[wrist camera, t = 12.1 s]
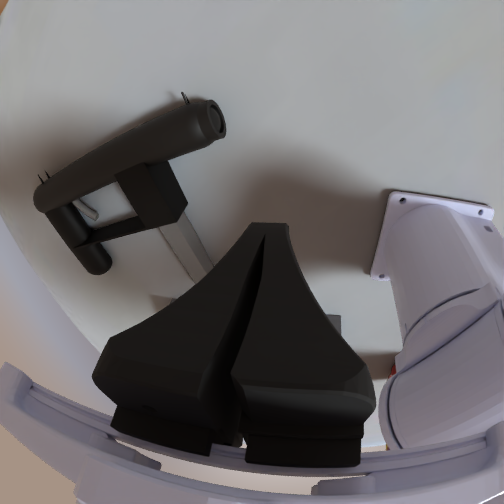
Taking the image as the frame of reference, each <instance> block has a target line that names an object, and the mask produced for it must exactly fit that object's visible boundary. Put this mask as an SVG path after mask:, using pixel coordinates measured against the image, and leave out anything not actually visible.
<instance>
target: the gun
mask: <svg viewBox="0 0 504 504" xmlns="http://www.w3.org/2000/svg"><path fill="white" fill-rule="evenodd" d="M181 94H182V96H183V98H184V100H185V103H186V105H185V106H182V107H180V108H177V109H175V110H173V111H170V112H168V113H166V114H164V115H161V116H159V117H157V118H155V119H153V120H151V121H148V122H146V123H144V124H142V125H140V126H137V127H136V128H134V129H132V130H130V131H128V132H126V133H124V134H122V135H120V136H119V137H117V138H115V139H113V140H111V141H109V142H107V143H106V144H104V145H102V146H100V147H99V148H97V149H95V150H93V151H92V152H90V153H88V154H87V155H85V156H83V157H82V158H80V159H78V160H77V161H75V162H73V163H72V164H70V165H69V166H67V167H66V168H64V169H63V170H61V171H59V172H58V173H56V174H55V175H53V176H52V177H51V178H50V176H49V175H48V174H47V172H46V171H45V172H46V175H47V177H48V180H46V181H45V182H43V180H42V179H41V178H40V176H39V175H38V176H39V178H40V180H41V182H42V184H41V185H39V186H38V187H37V189H36V190H35V192H34V196H33V201H34V205H35V207H36V208H37V210H38V211H40V212H42V213H45V215H46V216H47V218H48V219H49V221H50V222H51V224H52V225H53V226H54V228H55V229H56V231H57V232H58V233H59V235H60V236H61V238H62V239H63V240H64V242H65V243H66V244H67V246H68V247H69V248H70V250H71V251H72V252H73V253H74V255H75V256H76V257H77V259H78V260H79V261H80V262H81V264H82V265H83V266H84V267H85V269H86V270H87V271H88V272H89V273H91V274H93V275H101V274H104V273H106V272H107V271H108V270H109V269H110V268H111V265H112V259H111V257H110V256H109V254H108V253H107V252H106V250H105V249H104V248H103V246H102V245H101V244H100V242H104V241H108V240H111V239H115V238H118V237H122V236H126V235H129V234H133V233H137V232H141V231H145V230H149V229H153V228H157V227H159V229H160V230H161V232H162V233H163V235H164V237H165V238H166V240H167V241H168V243H169V244H170V246H171V248H172V249H173V251H174V252H175V254H176V255H177V257H178V259H179V260H180V262H181V263H182V265H183V266H184V268H185V269H186V271H187V272H188V274H189V275H190V277H191V278H192V280H193V281H194V283H195V284H197V283H198V282H199V281H200V280H201V279H202V278H203V277H204V276H205V275H206V274H208V273H209V272H210V271H211V270H212V268H213V267H214V266H213V264H212V262H211V261H210V259H209V257H208V255H207V253H206V251H205V249H204V247H203V245H202V243H201V242H200V240H199V238H198V236H197V234H196V232H195V230H194V229H193V227H192V225H191V223H190V222H189V220H188V218H187V216H186V214H185V212H184V210H185V208H186V206H187V205H188V202H187V200H186V198H185V196H184V194H183V192H182V189H181V187H180V185H179V183H178V181H177V179H176V177H175V175H174V173H173V171H172V169H171V167H170V164H169V162H168V160H170V159H173V158H176V157H179V156H181V155H184V154H187V153H190V152H193V151H196V150H199V149H202V148H205V147H207V146H209V145H210V144H212V143H213V142H214V141H216V140H219V139H222V138H224V137H225V135H226V124H225V120H224V117H223V114H222V112H221V110H220V108H219V106H218V105H217V103H216V102H215V101H213V100H208V101H206V102H203V103H200V102H194V103H189V101H188V99H187V100H186V98H187V97H186V98H185V96H186V95H185V96H184V93H183V92H181ZM187 101H188V102H187ZM188 103H189V104H188ZM116 181H118V183H119V185H120V187H121V188H122V190H123V192H124V193H125V195H126V197H127V198H128V200H129V201H130V203H131V205H132V206H133V208H134V210H135V211H136V213H137V214H138V216H136V217H133V218H130V219H126V220H123V221H120V222H117V223H114V224H111V225H108V226H105V227H102V228H99V229H96V230H93V231H91V230H90V228H89V227H88V225H87V224H86V222H85V221H84V219H83V218H82V216H81V215H80V213H79V212H78V210H77V209H76V207H77V208H78V209H79V210H80V211H82V212H83V213H84V214H85V215H87V216H88V217H90V218H91V219H93V220H95V221H96V220H97V219H98V216H99V214H97V213H96V212H94V211H92V210H91V209H89V208H88V207H87V206H85V205H84V204H83V203H82V202H81V201H80V200H79V198H81V197H83V196H85V195H87V194H89V193H91V192H93V191H96V190H98V189H100V188H102V187H104V186H107V185H109V184H111V183H113V182H116ZM72 202H73V203H72ZM74 205H75V206H76V207H75V206H74Z"/></svg>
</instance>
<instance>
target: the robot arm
mask: <svg viewBox="0 0 504 504" xmlns="http://www.w3.org/2000/svg"><path fill="white" fill-rule="evenodd" d="M401 198H405V199H404V201H399V200H400V199H401ZM479 210H481V211H480V212H479ZM478 212H479V213H478ZM493 216H494V210H493V208H492V207H490V206H486V205H481V204H476V203H470V202H465V201H459V200H453V199H447V198H441V197H434V196H428V195H421V194H413V193H406V192H398V191H394V192H392V193H391V194H390V195H389V197H388V202H387V207H386V212H385V216H384V221H383V225H382V229H381V233H380V237H379V241H378V245H377V249H376V253H375V257H374V260H373V264H372V268H371V271H370V277H371V279H373V280H382V281H391V285H392V290H393V294H394V299H395V304H396V309H397V314H398V319H399V324H400V330H401V336H402V342H403V349H402V351H401V352H400V353H399V354H397V355H396V356H395V364H396V374H394V375H393V376H391V377H390V378H389V379H388V380H387V382H386V383H385V385H384V386H383V389H382V391H381V394H380V398H379V423H380V427H381V432H382V434H383V437H384V440H385V442H386V444H387V446H388V447H389V449H390V450H388V451H378V452H365V453H361V439H362V438H363V436H364V422H365V421H366V420H367V419H368V418H369V417H370V415H371V414H372V413H373V412H374V410H375V408H376V397H375V391H374V386H373V382H372V379H371V376H370V373H369V370H368V367H367V365H366V363H365V362H364V361H363V360H362V359H361V358H360V357H359V356H358V355H357V354H356V353H355V352H354V350H353V349H352V348H351V347H350V346H349V345H348V344H347V342H346V341H345V340H344V339H343V337H342V336H341V335H340V334H339V332H338V331H337V330H336V328H335V327H334V326H333V324H332V323H331V321H330V320H329V319H328V317H327V316H326V314H325V313H324V312H323V310H322V308H321V307H320V305H319V304H318V302H317V300H316V299H315V297H314V295H313V293H312V292H311V290H310V288H309V286H308V284H307V282H306V280H305V278H304V276H303V274H302V272H301V269H300V267H299V265H298V262H297V259H296V257H295V254H294V251H293V248H292V245H291V241H290V237H289V226H288V225H287V224H286V223H255V222H252V223H251V224H250V225H249V226H248V228H247V229H246V230H245V232H244V233H243V234H242V235H241V237H240V238H239V239H238V241H237V242H236V243H235V244H234V245H233V247H232V248H231V249H230V250H229V251H228V252H227V254H226V255H225V256H224V257H223V258H222V259H221V260H220V261H219V262H218V263H217V264H216V265H215V266H214V267H213V268H212V270H211V271H210V272H209V273H208V274H206V275H205V276H204V277H203V278H202V279H201V280H200V281H199V282H198V283H197V284H195V285H194V286H193V287H192V288H191V289H190V290H188V291H187V292H186V293H185V294H183V295H182V296H181V297H179V298H178V299H176V300H175V301H174V302H172V303H171V304H170V305H168V306H167V307H165V308H164V309H162V310H161V311H159V312H157V313H156V314H154V315H153V316H151V317H149V318H148V319H146V320H144V321H142V322H141V323H139V324H137V325H135V326H133V327H131V328H129V329H127V330H125V331H123V332H121V333H119V334H117V335H115V336H113V337H110V338H109V340H108V342H107V344H106V346H105V347H104V349H103V352H102V354H101V356H100V358H99V360H98V363H97V365H96V367H95V369H94V371H93V374H92V379H93V381H94V383H95V385H96V386H97V387H98V388H99V389H100V390H101V391H102V392H103V393H104V394H105V395H106V396H107V397H109V398H110V399H111V400H112V401H113V402H114V403H115V404H116V405H117V408H116V410H115V413H114V416H113V417H112V416H109V415H106V414H104V413H101V412H98V411H96V410H93V409H91V408H88V407H86V406H83V405H81V404H79V403H76V402H74V401H72V400H70V399H67V398H65V397H63V396H61V395H59V394H57V393H54V392H52V391H50V390H48V389H46V388H44V387H42V386H40V385H39V384H37V383H35V382H33V381H32V380H31V379H30V378H29V377H28V376H27V375H26V374H25V373H24V372H22V371H21V370H19V369H18V368H16V367H14V366H13V365H11V364H9V363H8V362H4V364H3V366H2V368H1V370H0V424H1V425H2V426H3V427H4V428H5V429H6V430H8V431H9V432H10V433H11V434H12V435H13V436H14V437H15V438H17V440H19V441H20V442H21V443H22V444H23V445H24V446H26V447H27V448H28V449H29V450H30V451H32V452H33V453H34V454H35V455H37V456H38V457H39V458H40V459H42V460H43V461H44V462H45V463H47V464H48V465H50V466H51V467H52V468H54V469H55V470H56V471H58V472H59V473H61V474H62V475H63V476H65V477H66V478H68V479H69V480H71V481H72V482H74V483H75V484H76V486H75V489H74V494H75V496H76V498H77V502H76V504H504V238H503V237H502V235H501V234H500V232H499V231H498V230H497V228H496V227H495V225H494V224H493V223H492V218H493ZM381 274H383V275H381ZM243 438H244V440H245V442H246V445H247V448H239V447H241V446H242V442H243ZM115 439H117V440H120V441H122V442H125V443H128V444H131V445H134V446H136V447H140V448H143V449H146V450H149V451H152V452H155V453H159V454H163V455H166V456H170V457H173V458H178V459H181V460H185V461H189V462H194V463H198V464H203V465H208V466H213V467H219V468H224V469H230V470H237V471H244V472H252V473H260V474H271V475H283V476H303V477H341V476H359V475H366V476H362V477H352V478H343V479H332V480H320V482H318V485H314V486H313V487H312V490H311V495H297V494H282V493H271V492H262V491H253V490H246V489H240V488H233V487H228V486H222V485H217V484H212V483H207V482H202V481H198V480H194V479H189V478H185V477H181V476H178V475H174V474H170V473H167V472H163V471H160V469H161V463H160V462H158V461H155V460H153V459H150V458H148V457H146V456H144V455H142V454H140V453H139V452H138V451H136V450H134V449H132V448H130V447H127V446H125V445H122V444H120V443H118V442H117V441H116V440H115Z"/></svg>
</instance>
